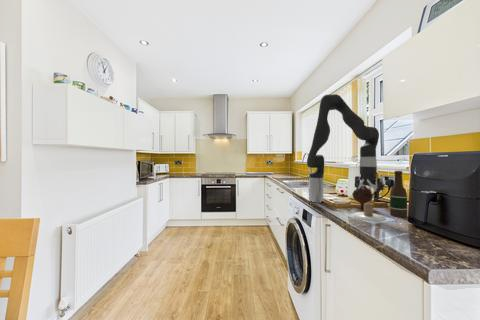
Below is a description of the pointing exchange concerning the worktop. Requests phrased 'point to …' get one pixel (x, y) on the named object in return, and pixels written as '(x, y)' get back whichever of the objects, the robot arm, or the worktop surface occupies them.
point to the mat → (370, 221)
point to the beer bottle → (398, 197)
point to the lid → (368, 214)
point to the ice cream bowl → (362, 197)
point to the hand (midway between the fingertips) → (368, 197)
